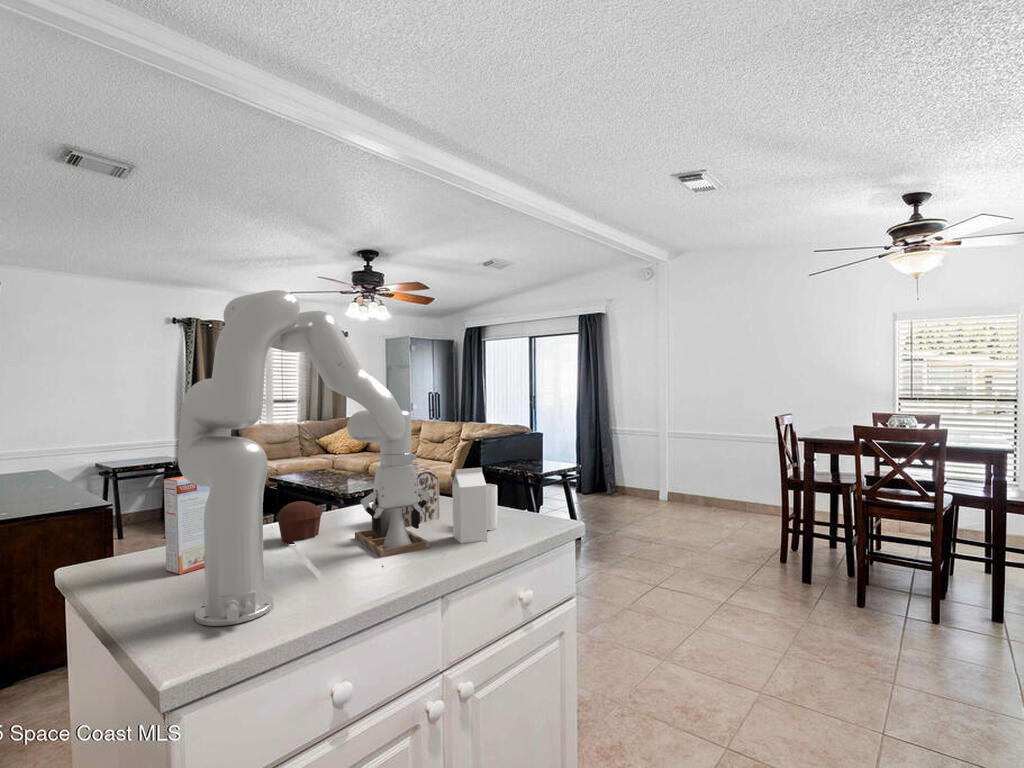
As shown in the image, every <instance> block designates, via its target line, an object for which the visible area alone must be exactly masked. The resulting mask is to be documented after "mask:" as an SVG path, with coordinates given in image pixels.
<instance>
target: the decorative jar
mask: <svg viewBox="0 0 1024 768" xmlns="http://www.w3.org/2000/svg"><path fill="white" fill-rule="evenodd" d="M411 464H412V465H414V468H415V473H416V479H417V488H420V489H422V490H424V491H427V492H429V493H430V495H429V497H428V500H427V501H426V502H427V503H426V505H425V506H424V507H423V508H422V511H421V512H420V524H424V523H428V522H430V521H431V522H432V521H434V520H437V521H438V520H439V521H440V513H441V511H440V509H441V507H440V479H439V477H440V476H438V474H437V473H436V472H435V471H434V470H433V469H432V468H431V467H423V466H421V463H420V461H412V463H411ZM421 498H422V495H421V494H419V493H418V501H417V503H418V502H419V501H420V500H421ZM412 510H413V508H412V507H411V506H406V507H403V508H402V518H403V522H404V525H405V526H409V527H412V526H411V511H412ZM420 524H419V525H420Z"/></svg>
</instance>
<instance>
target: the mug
mask: <svg viewBox="0 0 1024 768" xmlns="http://www.w3.org/2000/svg"><path fill="white" fill-rule="evenodd" d="M486 487H487V530H489V529H494V528H496V527H497V528H498V485H497V484H492V483H486ZM497 528H496V529H497Z"/></svg>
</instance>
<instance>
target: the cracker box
mask: <svg viewBox="0 0 1024 768" xmlns="http://www.w3.org/2000/svg"><path fill="white" fill-rule="evenodd" d="M209 491H210V487H205V486H200V485H196V484H193V483H191V482H189V481H188V480H187V479H185V477H184V476H183V475H182V476H175V477H171V478H170V477H169V478H165V479H163V499H164V503H163V504H164V506H163V507H164V532H165V534H164V535H165V536H164V537H165V539H164V540H165V568H166V570H165V571H167V572H170V573H173V574H176V575H183V574H186V572H187V573H190V572H192V571H196V570H200V569H203V568H205V566H204V510H205V505H206V502H207V498H208V495H209Z"/></svg>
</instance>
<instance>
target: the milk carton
mask: <svg viewBox="0 0 1024 768" xmlns="http://www.w3.org/2000/svg"><path fill="white" fill-rule="evenodd" d="M451 483H452V532H453V535H452V537H453V538H455V540H456V541H458V543H460V544H468V543H474V542H485V543H488V531H487V487H486V484H487V483H486V480H485V476H484V474H483V467H471V468H460V469H459V468H457V469H455V475H454V478H453V480H452V482H451Z"/></svg>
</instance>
